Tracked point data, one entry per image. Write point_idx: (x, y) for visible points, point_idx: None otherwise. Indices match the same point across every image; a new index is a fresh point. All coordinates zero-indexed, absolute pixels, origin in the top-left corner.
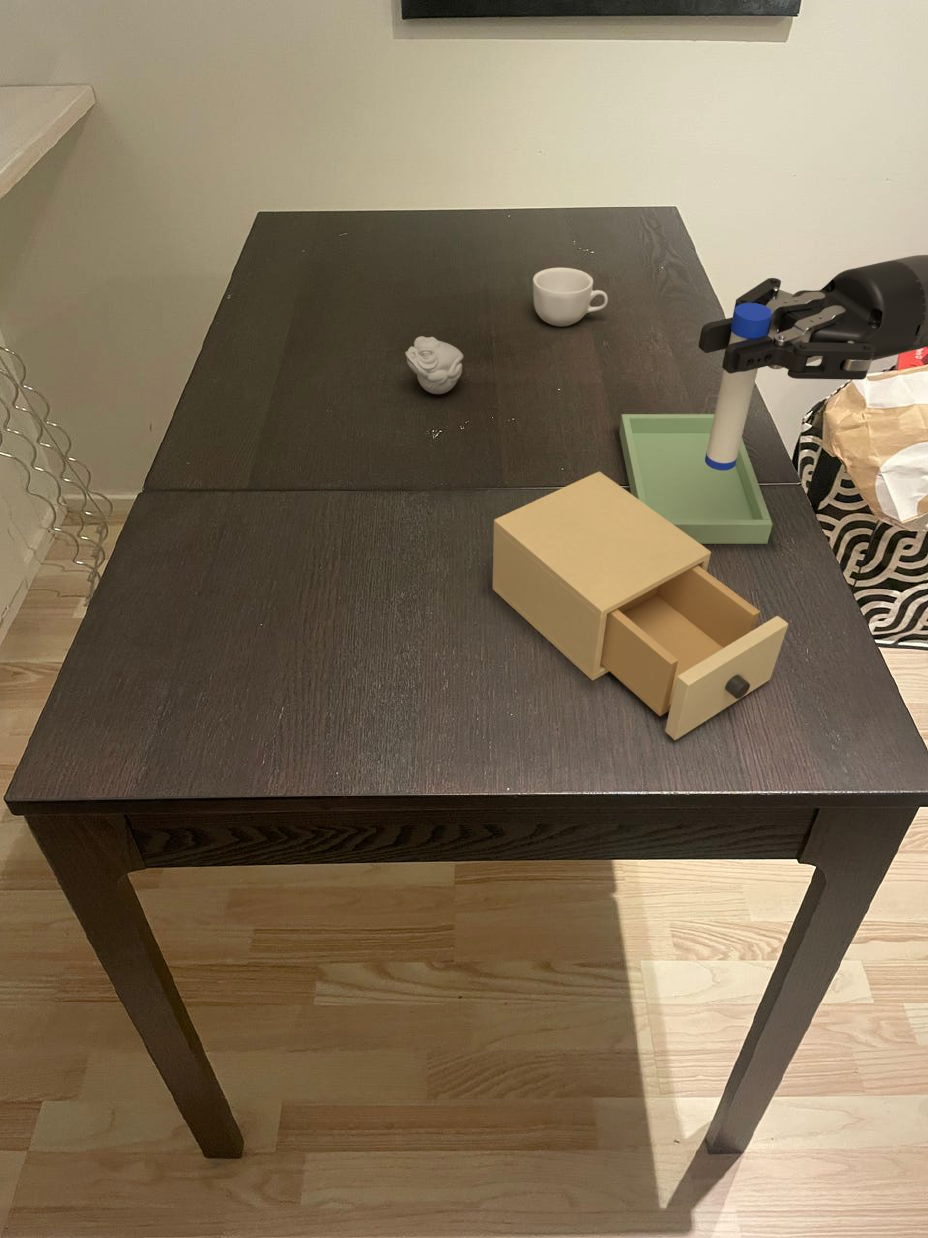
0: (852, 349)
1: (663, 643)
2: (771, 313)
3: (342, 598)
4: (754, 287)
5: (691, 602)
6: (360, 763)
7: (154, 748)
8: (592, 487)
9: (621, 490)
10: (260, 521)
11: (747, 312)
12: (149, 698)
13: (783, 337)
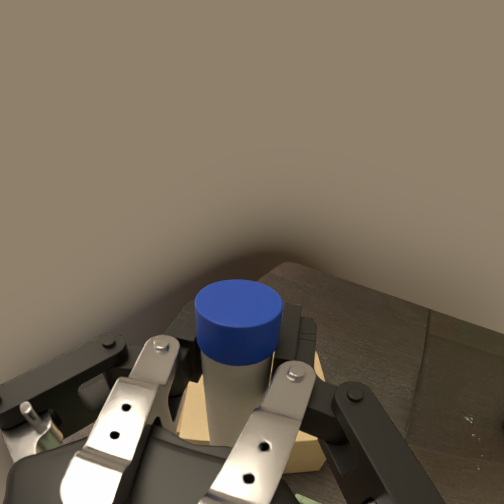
0: (19, 381)
1: (180, 422)
2: (202, 315)
3: (334, 338)
4: (415, 457)
5: None
6: None
7: (284, 278)
8: None
9: (302, 437)
10: (402, 330)
11: (242, 292)
12: (307, 283)
13: (155, 340)
